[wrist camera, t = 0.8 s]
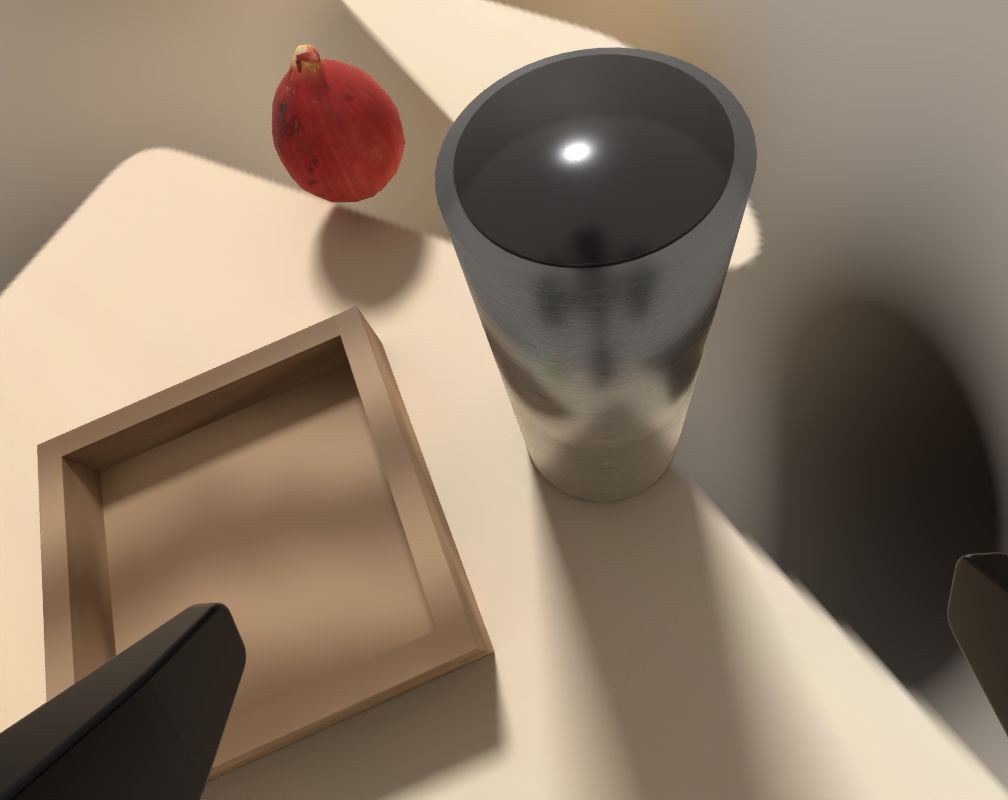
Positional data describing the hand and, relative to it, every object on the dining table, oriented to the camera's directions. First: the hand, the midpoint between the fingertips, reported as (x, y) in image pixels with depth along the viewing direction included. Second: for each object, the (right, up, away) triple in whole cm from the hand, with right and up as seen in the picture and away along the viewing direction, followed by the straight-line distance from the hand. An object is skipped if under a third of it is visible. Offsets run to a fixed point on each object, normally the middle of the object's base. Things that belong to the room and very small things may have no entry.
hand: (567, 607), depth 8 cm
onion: (-8, +13, +24) cm, 29 cm away
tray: (-10, -3, +17) cm, 20 cm away
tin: (+3, +1, +16) cm, 17 cm away
